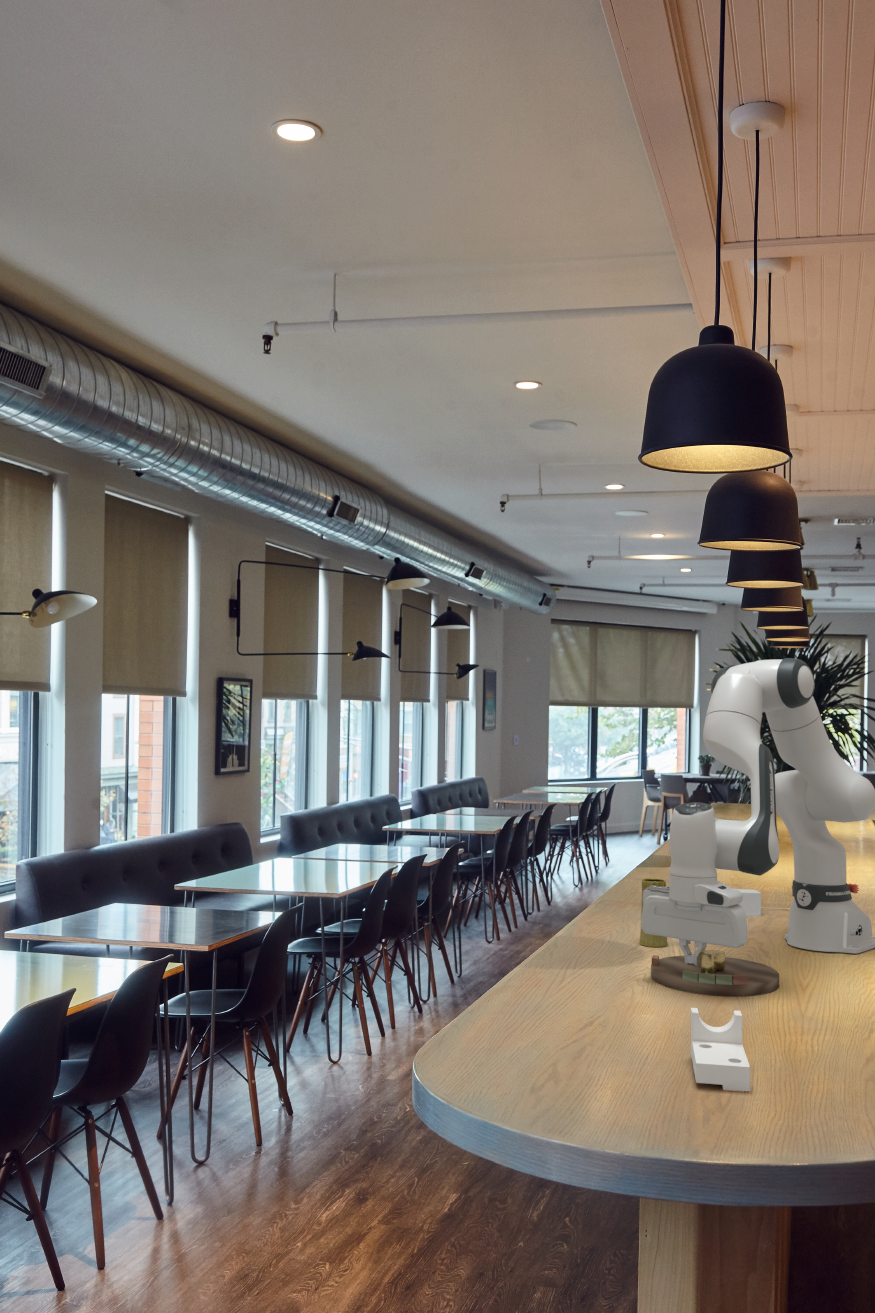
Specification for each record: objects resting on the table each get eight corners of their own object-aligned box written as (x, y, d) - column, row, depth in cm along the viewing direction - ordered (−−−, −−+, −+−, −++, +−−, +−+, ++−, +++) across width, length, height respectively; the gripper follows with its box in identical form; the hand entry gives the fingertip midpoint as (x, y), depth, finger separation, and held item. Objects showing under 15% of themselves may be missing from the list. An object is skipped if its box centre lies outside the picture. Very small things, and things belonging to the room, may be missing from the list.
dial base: (709, 960, 219) (709, 943, 220) (806, 985, 200) (806, 966, 200) (625, 974, 206) (625, 956, 206) (720, 1002, 186) (720, 982, 186)
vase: (667, 948, 231) (667, 882, 231) (639, 946, 232) (639, 881, 233) (667, 942, 237) (667, 878, 237) (639, 941, 238) (639, 877, 239)
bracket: (690, 1059, 156) (690, 1007, 156) (740, 1063, 154) (740, 1011, 155) (696, 1090, 143) (696, 1033, 143) (750, 1094, 142) (750, 1037, 142)
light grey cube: (732, 912, 277) (732, 889, 277) (755, 912, 277) (755, 889, 277) (737, 916, 271) (737, 892, 271) (761, 916, 271) (761, 893, 271)
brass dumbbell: (705, 964, 206) (705, 941, 206) (726, 966, 204) (726, 943, 204) (694, 978, 194) (694, 954, 195) (716, 980, 193) (716, 956, 193)
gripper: (635, 885, 202) (634, 958, 201) (737, 898, 189) (737, 976, 188) (650, 882, 207) (650, 953, 206) (751, 894, 194) (751, 970, 193)
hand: (692, 964), depth 197 cm, fingers closed
